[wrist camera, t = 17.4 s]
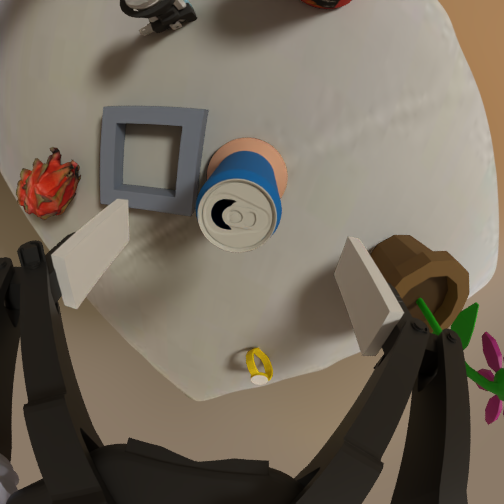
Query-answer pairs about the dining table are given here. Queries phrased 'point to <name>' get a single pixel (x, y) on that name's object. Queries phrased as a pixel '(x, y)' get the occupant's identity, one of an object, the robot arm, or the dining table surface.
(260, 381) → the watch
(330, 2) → the canned food
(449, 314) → the flowerpot
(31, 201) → the dragon fruit
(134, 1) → the push button
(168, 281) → the dining table surface
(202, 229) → the beverage can
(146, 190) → the grey square frame
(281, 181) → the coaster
